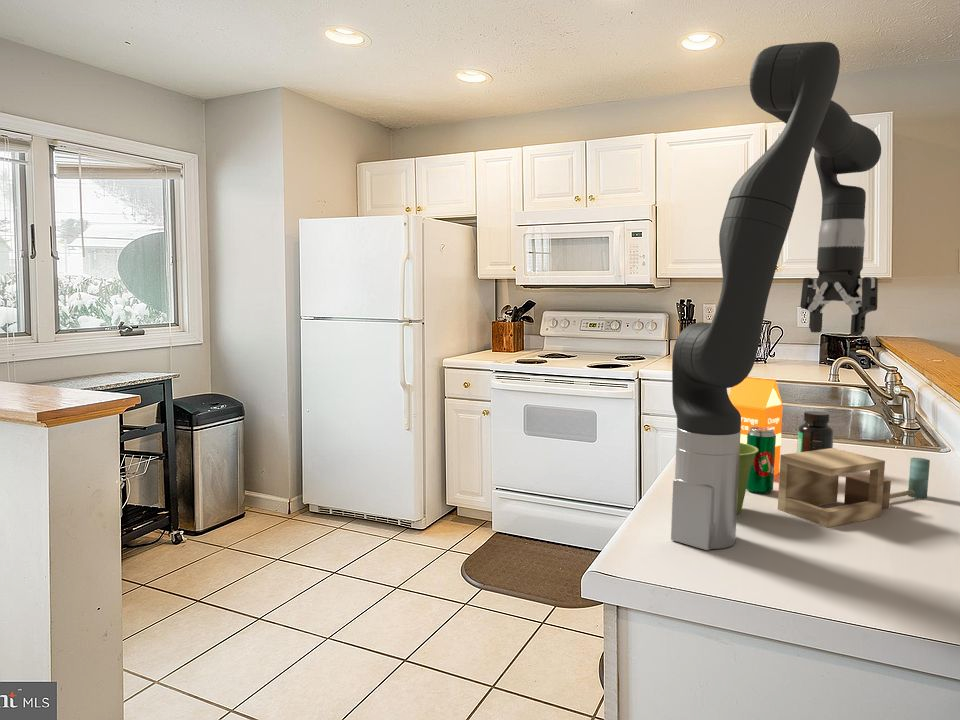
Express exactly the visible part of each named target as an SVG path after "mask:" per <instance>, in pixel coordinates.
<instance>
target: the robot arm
mask: <svg viewBox="0 0 960 720" xmlns="http://www.w3.org/2000/svg"><path fill="white" fill-rule="evenodd" d="M840 56H841V55H840V51H839V48H838V47H837V46H836V45H835V43H833V42H829V41H812V42H807V41H806V42H797V43H796V42H795V43H785V44H784V43H783V44H778V45H775V44H774V45H772V46H768V47H766V48H764V49H763V50H762V51H760V52H759V53H758V55H757V56H756V57H755V59H754V61H753V63H752V67H751V70H750V75H749V92H750V94H751V97H752V100H753V102H754V103H755V104H756V106H757V107H758V108H759V109H761V110H763V112H766V113H767V114H770V115H772V116H773V117H775V118H776V119H778V121H779V120H780V121H781V122H782V123H784V124H785V126H784V128H783V130H782V132H781V134H780V135H779V136H778V137H777V139H776V140H775V141H774V142H773V144H772V145H771V146H770V147H769V148H768V149H767V150H766V151H765V152H764V153H763V154H762V155H761V156H760V157H759V158H758V159H757V160H756V161H755V162H754V163H753V164H752V165H751V166H750V167H749V168H748V169H747V170H746V171H745V172H744V173H743V174H742V175H741V177H740V178H739V179H738V180H737V181H736V183H735V184H734V186H733V188H732V189H731V192H730V193H729V194H730V195H729V197H728V199H727V204H726V208H725V210H724V214H723V216H722V217H723V218H722V219H721V224H720V227H719V229H720V230H719V235H718V237H719V238H718V242H719V243H718V244H719V255H720V262H721V263H720V264H721V273H722V284H721V285H722V286H721V292H720V296H719V300H718V302H717V306H716V310H715V313H714V316H713V317H712V320H711V322H706V321H705V322H704V321H703V322H694V323H691V324H689V325H687V326H686V327H685V328H683V329H682V330H681V331H680V332H679V334H678V336H677V337H676V340H675V342H674V346H673V351H672V358H671V359H672V360H671V367H672V368H671V369H672V371H671V379H672V380H671V384H672V386H671V389H672V393H671V394H672V395H671V397H672V405H673V410H674V412H675V415H676V443H675V444H676V445H675V464H674V465H675V467H674V471H675V472H674V480H673V481H672V499H671V501H672V502H671V504H672V505H671V529H670V531H671V532H670V540H671V541H675V542H677V543H682V544H684V545H688V546H691V547H694V548H698V549H702V550H705V551H710V550H713V549H724V548H725V549H726V548H729V547H732V546H734V545H735V543H736V536H737V534H736V532H737V520H738V519H737V516H738V515H737V497H738V476H739V455H740V436H741V415H740V413H739V411H738V410H737V409H736V408H735V406H734V405H733V404H732V402H731V401H730V399H729V393H728V389H729V388H730V389H731V388H732V387H734V386H736V385H738V384H740V383H741V382H742V381H743V380H744V379H745V378H746V377H749V374H750V373H751V371H752V370H753V368H754V365H755V362H756V359H757V355H758V350H759V344H760V341H761V333H762V328H763V324H764V318H765V313H766V309H767V303H768V299H769V295H770V292H771V288H772V284H773V281H774V277H775V274H776V270H777V265H778V263H779V260H780V259H779V258H780V256H781V254H782V253H781V252H782V250H783V247H784V244H785V241H786V238H787V234H788V231H789V228H790V226H791V221H792V219H793V215H794V211H795V208H796V205H797V200H798V196H799V192H800V190H801V185H802V181H803V178H804V175H805V171H806V168H807V165H808V162H809V158H810V155H811V154H812V153H811V152H812V150H813V149H814V152H813V153H814V154H813V157H814V158H813V159H814V165H815V168H816V171H817V172H816V173H817V176H818V179H819V185H820V190H821V197H822V198H821V221H820V225H819V231H818V242H817V244H818V245H817V261H816V270H817V272H818V276H817V277H804V278H803V280H802V287H801V296H800V297H801V298H800V305H799V306H800V309H803V310H804V309H805V310H806V311H808V312H809V322H808V323H809V324H808V327H809V329H810V333H821V332H822V331H823V316H824V315H823V314H824V313H823V312H822V311H823V310H824V308H825V307H826V305H828V304H829V303H831V302H832V301H833V302H834V301H836V302H844V303H845V304H846V305H847V306H848V307H849V308H850V310H851V312H852V314H851V319H850V320H851V322H850V335H851V336H862V335H863V333H864V332H865V329H866V315H867V314H868V313H871V312H875V311H878V293H879V291H878V290H879V289H878V288H879V284H878V283H879V279H878V278H877V277H875V276H873V277H872V276H864V277H861V271H862V270H863V269H864V268H863V267H864V253H865V237H866V228H865V215H866V214H865V213H866V202H867V201H866V200H867V199H866V198H867V197H866V195H867V194H866V190H865V189H864V188H862V187H861V186H857V185H855V186H854V185H846V184H842V183H840V181H839V180H838V175H844V174H845V175H846V174H852V173H854V174H855V173H863V172H868V171H870V170H871V169H873V168H874V167H875V166H876V165H877V164H878V163H879V161H880V159H881V154H882V145H881V141H880V139H879V137H878V135H877V133H875V132H874V130H872V129H871V128H869V127H868V126H865V125H863V124H861V123H859V122H857V121H853V119H852V118H851V116H850V114H849V113H848V112H847V110H845V109H844V107H842V105H840V104H839V103H837V102H836V101H834V100H832V99H833V96H834V93H835V89H836V86H837V83H838V78H839V74H840V67H841V57H840ZM817 288H818V289H819V290H817ZM859 289H861V293H860V291H859Z"/></svg>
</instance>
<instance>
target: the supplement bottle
mask: <svg viewBox="0 0 960 720" xmlns="http://www.w3.org/2000/svg"><path fill="white" fill-rule="evenodd" d="M803 422H804V423H802V424H800V425H799V426H798V428H797V444H796V446H797V447H796V453H799V452H806V451H814V450H821V449H829V448H834V432H835V431H834V429H833V427H832V426H830V425H829V423H830V413H828V412H826V411H825V412H824V411H817V410H816V411H815V410H813V411H812V410H809V411H804V413H803Z"/></svg>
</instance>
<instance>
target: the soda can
mask: <svg viewBox="0 0 960 720" xmlns="http://www.w3.org/2000/svg"><path fill="white" fill-rule="evenodd" d="M747 444H749V445H752V446H754V447H756V448H758V450H759V451H758V453H756V454H755V457H754V461H753V465H752V466H751V469H750V473H749V478H748V482H747V487H746V491H747V492H749V493H753V494H761V495H763V494H764V495H765V494H766V495H767V494H770V493H772V491H773V490H774V479H775V478H774V477H775V475H774V463H775V445H776V435H775V433H774V429H771V428H767V427H750V430H749V432H748V433H747Z"/></svg>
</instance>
